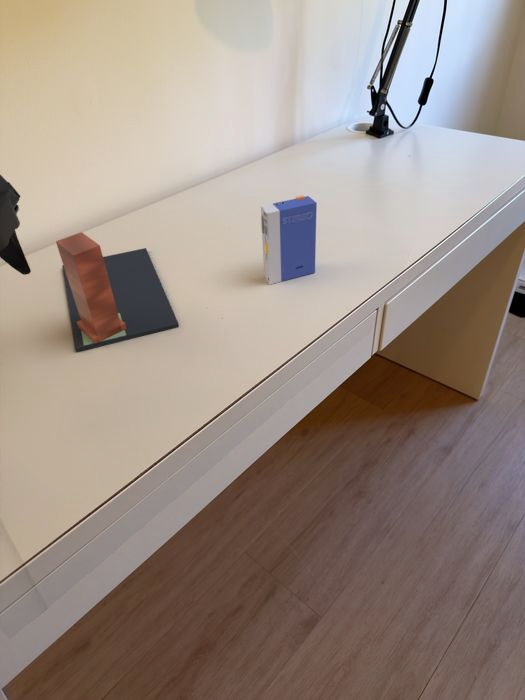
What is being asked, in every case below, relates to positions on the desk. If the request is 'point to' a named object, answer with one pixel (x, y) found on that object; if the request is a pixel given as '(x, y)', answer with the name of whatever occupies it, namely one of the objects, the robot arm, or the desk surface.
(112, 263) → the dark blue mat
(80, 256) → the reddish brown square pillar
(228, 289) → the desk surface
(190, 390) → the desk surface
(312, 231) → the walkman
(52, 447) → the desk surface
